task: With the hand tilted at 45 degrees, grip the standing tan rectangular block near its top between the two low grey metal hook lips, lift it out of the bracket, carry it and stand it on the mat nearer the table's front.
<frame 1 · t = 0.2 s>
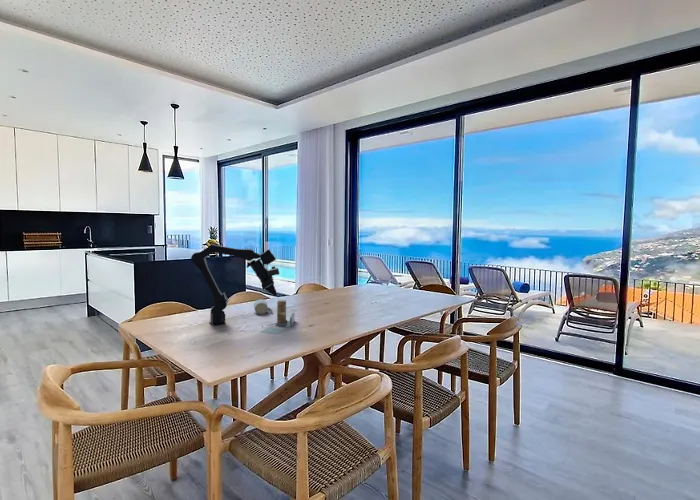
hand: (275, 294, 199), 15 cm above the table, tool tilted 35°, fingers open, 9 cm apart
mat: (273, 331, 181), on the table
ceramic mug: (263, 313, 217), on the table
bracket: (281, 324, 194), on the table
tan rectangular block: (281, 323, 194), touching bracket
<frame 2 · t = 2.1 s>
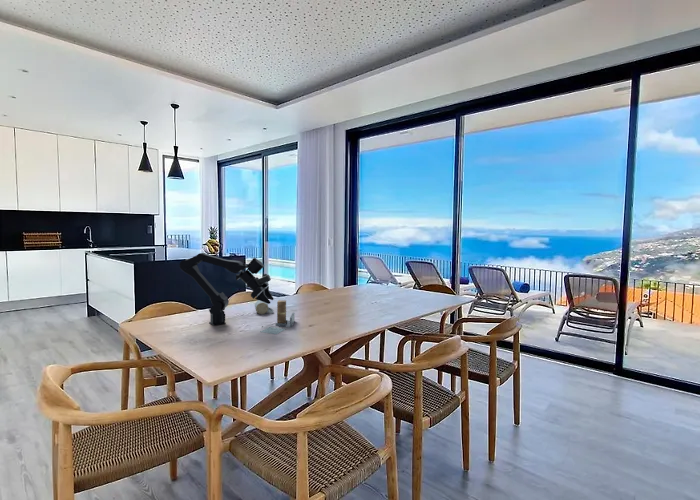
hand: (271, 301, 193), 12 cm above the table, tool tilted 45°, fingers open, 9 cm apart
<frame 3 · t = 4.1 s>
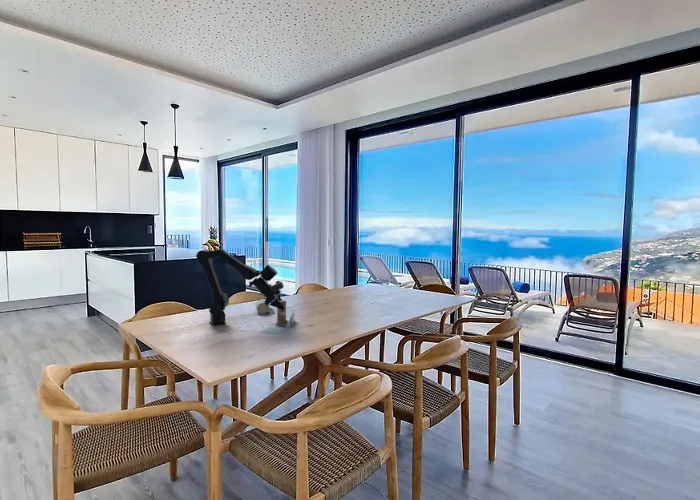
hand: (284, 308, 193), 9 cm above the table, tool tilted 45°, fingers closed on tan rectangular block, 4 cm apart
tan rectangular block: (281, 323, 194), touching bracket, gripper
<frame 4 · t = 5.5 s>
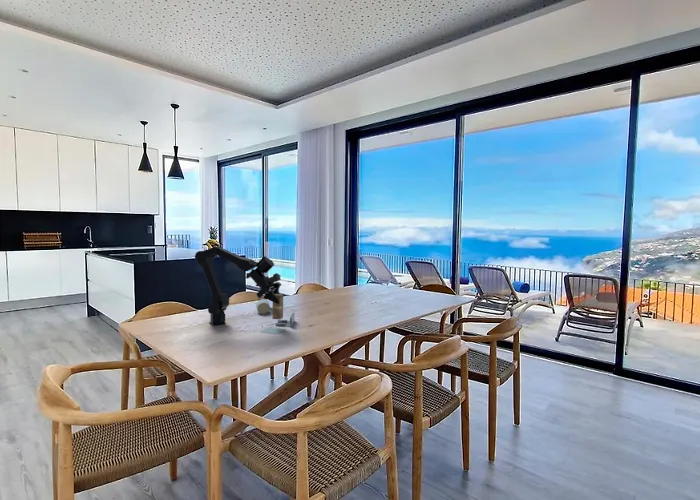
hand: (280, 302, 185), 13 cm above the table, tool tilted 45°, fingers closed on tan rectangular block, 4 cm apart
tan rectangular block: (277, 318, 186), point 5 cm above the table, touching gripper
when the fingers open (9 cm above the table, at t = 6.8 s): tan rectangular block stays where it is, resting on mat.
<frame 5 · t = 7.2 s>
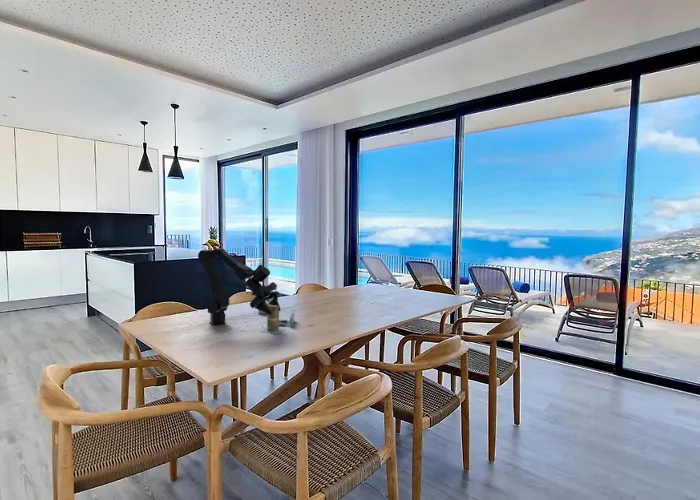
hand: (275, 312, 180), 10 cm above the table, tool tilted 45°, fingers open, 8 cm apart
tan rectangular block: (273, 330, 181), resting on mat
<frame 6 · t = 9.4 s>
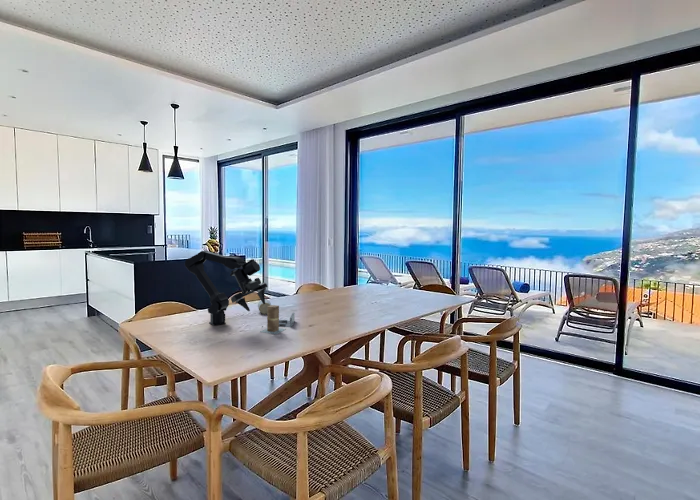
hand: (257, 307, 186), 10 cm above the table, tool tilted 30°, fingers open, 9 cm apart
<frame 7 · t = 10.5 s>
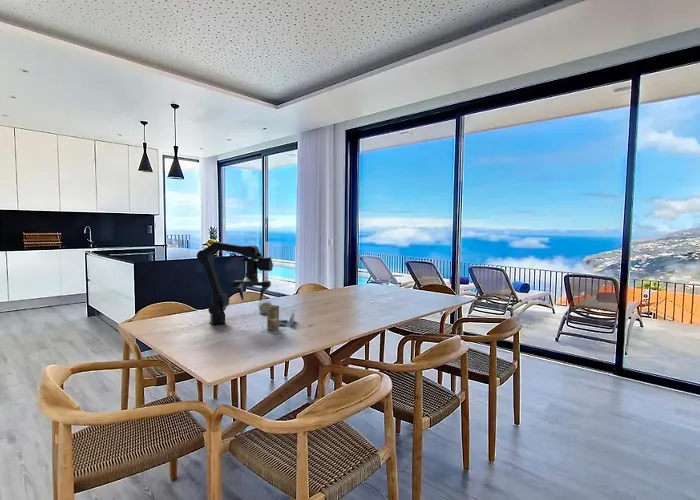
hand: (251, 300, 190), 13 cm above the table, tool pointing down, fingers open, 9 cm apart
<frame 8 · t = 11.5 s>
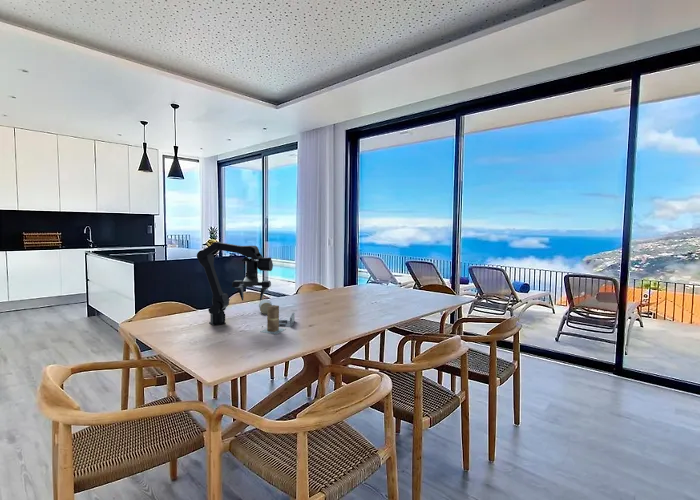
hand: (251, 300, 190), 13 cm above the table, tool pointing down, fingers open, 9 cm apart
at the end: tan rectangular block inside the target area on the mat (0.0 cm from its centre), point 0.5 cm above the mat's base; tan rectangular block tilted 0°; tan rectangular block touching mat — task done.
